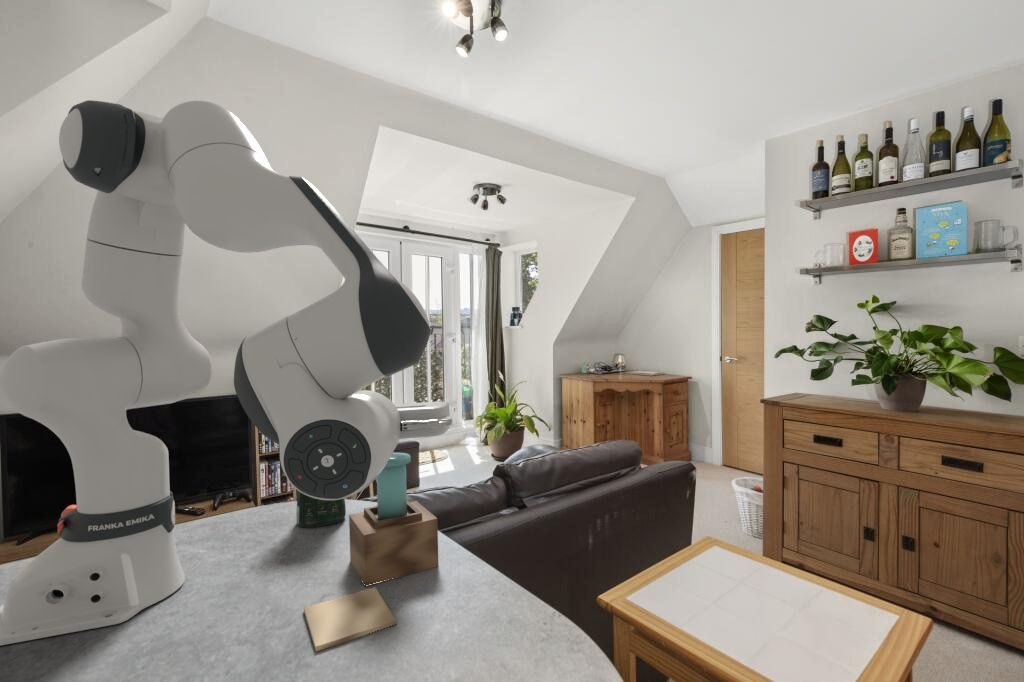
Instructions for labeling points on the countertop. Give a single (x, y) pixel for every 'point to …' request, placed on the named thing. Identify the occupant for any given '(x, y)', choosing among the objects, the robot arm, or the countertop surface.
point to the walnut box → (393, 543)
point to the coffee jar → (318, 511)
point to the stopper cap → (393, 487)
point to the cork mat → (347, 618)
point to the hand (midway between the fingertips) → (378, 413)
